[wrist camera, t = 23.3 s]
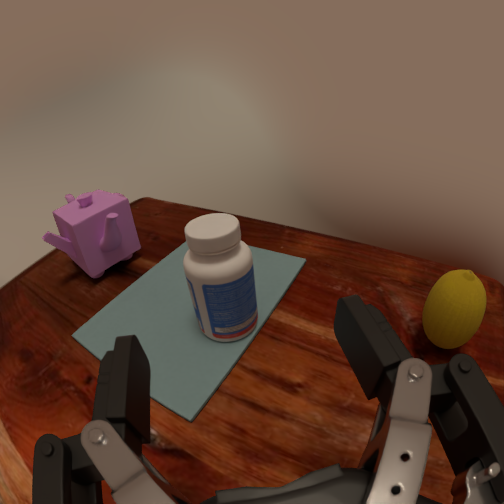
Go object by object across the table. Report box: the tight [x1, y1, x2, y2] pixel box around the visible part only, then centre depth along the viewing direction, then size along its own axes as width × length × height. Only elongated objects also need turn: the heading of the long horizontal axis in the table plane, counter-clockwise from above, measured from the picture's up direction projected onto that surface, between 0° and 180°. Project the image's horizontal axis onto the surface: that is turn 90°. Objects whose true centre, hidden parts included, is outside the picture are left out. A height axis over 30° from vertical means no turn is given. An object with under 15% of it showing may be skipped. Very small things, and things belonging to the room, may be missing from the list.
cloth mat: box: [72, 242, 306, 422], centre depth 29 cm, size 16×22×1 cm
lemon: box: [422, 270, 486, 349], centre depth 20 cm, size 6×6×8 cm
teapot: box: [42, 190, 141, 278], centre depth 34 cm, size 18×13×10 cm
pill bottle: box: [183, 213, 258, 342], centre depth 24 cm, size 6×5×10 cm
